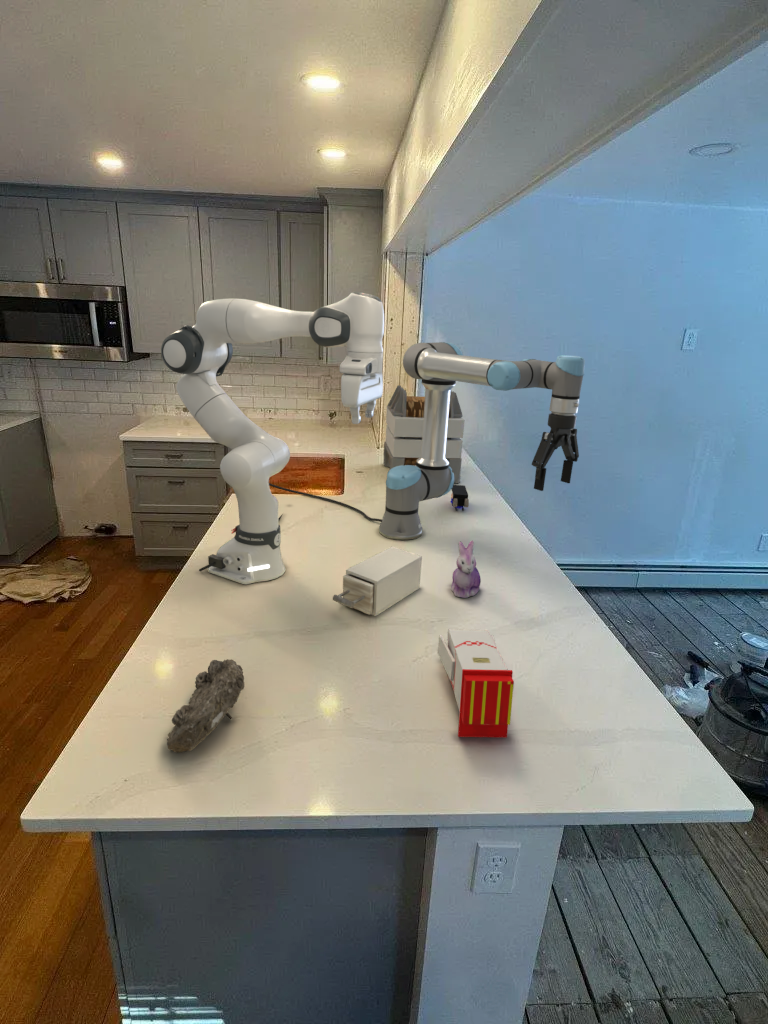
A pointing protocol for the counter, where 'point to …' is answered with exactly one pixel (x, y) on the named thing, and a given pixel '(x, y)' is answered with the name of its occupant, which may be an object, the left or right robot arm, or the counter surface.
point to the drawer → (357, 594)
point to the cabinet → (389, 576)
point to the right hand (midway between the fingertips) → (552, 485)
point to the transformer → (419, 431)
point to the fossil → (206, 705)
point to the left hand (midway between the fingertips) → (362, 420)
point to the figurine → (466, 573)
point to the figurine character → (459, 497)
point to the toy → (478, 682)
